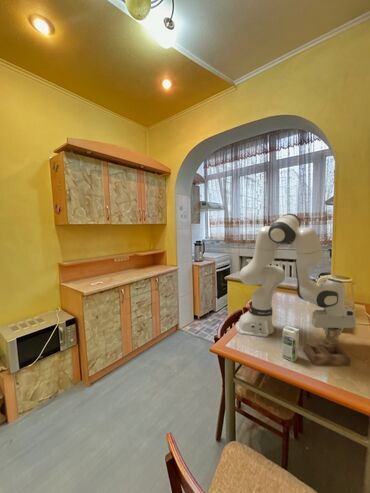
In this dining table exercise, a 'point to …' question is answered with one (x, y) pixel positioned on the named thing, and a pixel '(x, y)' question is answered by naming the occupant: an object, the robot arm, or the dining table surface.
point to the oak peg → (333, 336)
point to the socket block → (326, 354)
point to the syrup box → (290, 343)
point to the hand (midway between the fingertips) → (332, 334)
